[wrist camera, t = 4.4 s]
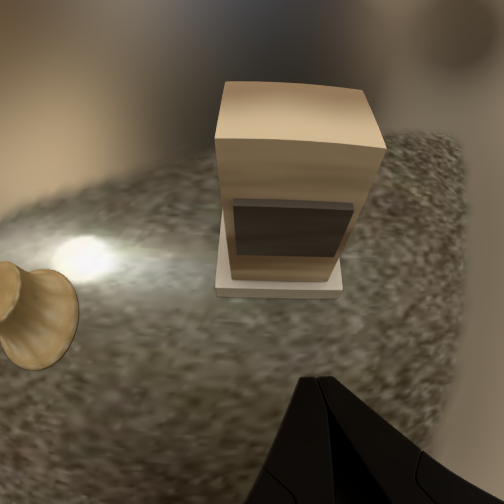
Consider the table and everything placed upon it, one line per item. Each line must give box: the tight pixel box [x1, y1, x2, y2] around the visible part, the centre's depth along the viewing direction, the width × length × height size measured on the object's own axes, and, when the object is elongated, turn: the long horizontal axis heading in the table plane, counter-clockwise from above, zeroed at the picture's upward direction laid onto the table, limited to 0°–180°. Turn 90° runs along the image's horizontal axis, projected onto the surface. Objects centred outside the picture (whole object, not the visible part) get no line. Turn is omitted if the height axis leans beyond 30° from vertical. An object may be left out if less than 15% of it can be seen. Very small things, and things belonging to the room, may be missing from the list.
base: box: [215, 209, 343, 299], centre depth 21 cm, size 10×8×6 cm
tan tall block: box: [215, 82, 387, 281], centre depth 16 cm, size 4×6×11 cm
